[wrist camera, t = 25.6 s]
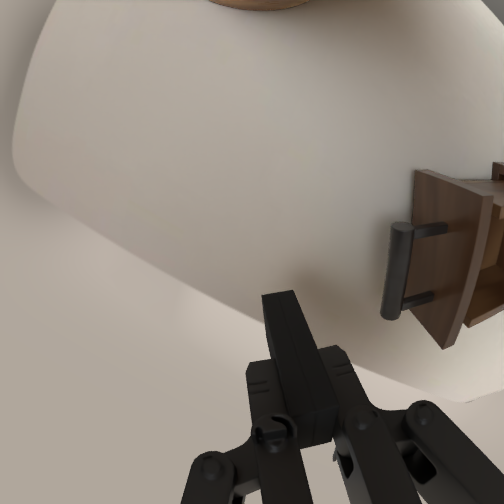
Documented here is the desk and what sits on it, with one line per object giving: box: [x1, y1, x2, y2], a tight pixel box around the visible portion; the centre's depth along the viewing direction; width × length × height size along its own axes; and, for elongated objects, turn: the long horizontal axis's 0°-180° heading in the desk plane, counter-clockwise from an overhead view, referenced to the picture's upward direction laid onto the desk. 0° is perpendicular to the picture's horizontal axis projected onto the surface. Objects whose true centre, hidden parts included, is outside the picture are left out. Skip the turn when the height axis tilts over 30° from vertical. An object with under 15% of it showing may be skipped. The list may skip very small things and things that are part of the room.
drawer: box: [380, 170, 504, 350], centre depth 16 cm, size 17×11×6 cm, turn 97°
